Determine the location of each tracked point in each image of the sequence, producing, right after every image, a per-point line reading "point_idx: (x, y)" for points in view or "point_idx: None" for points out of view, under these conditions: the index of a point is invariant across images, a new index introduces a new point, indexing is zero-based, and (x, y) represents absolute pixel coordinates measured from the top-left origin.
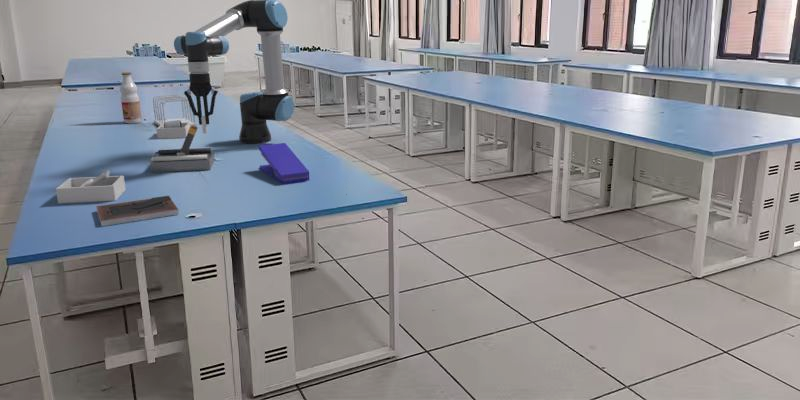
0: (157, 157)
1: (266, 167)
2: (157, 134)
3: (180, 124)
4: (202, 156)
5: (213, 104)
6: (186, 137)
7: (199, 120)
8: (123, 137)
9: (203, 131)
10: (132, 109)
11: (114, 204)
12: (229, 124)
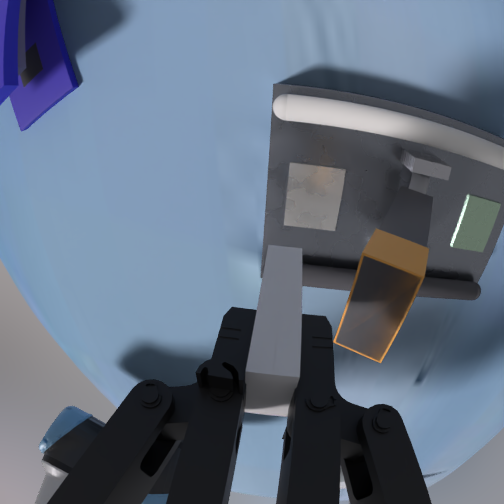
0: None
1: (52, 62)
2: None
3: None
4: (312, 99)
5: (66, 487)
6: (426, 230)
7: (324, 353)
8: (422, 450)
9: (294, 257)
10: None
11: None
12: (248, 473)
